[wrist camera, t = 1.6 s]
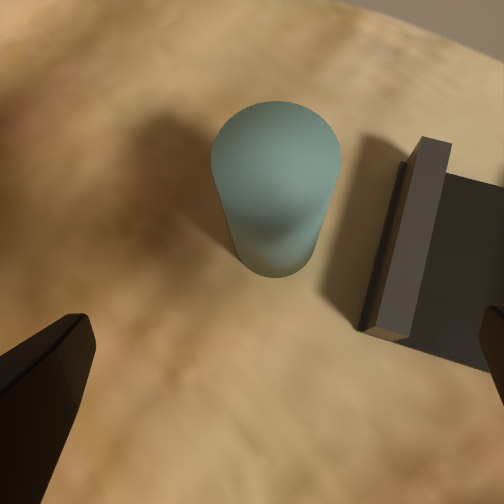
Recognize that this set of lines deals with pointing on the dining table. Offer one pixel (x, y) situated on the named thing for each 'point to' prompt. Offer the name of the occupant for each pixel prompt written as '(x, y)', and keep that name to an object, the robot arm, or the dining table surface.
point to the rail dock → (437, 260)
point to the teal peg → (275, 183)
